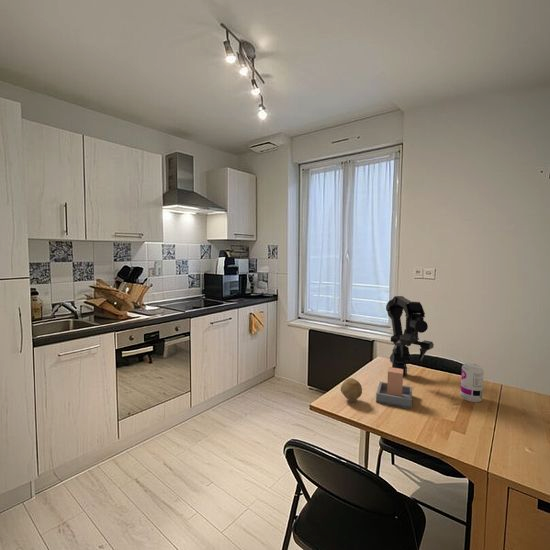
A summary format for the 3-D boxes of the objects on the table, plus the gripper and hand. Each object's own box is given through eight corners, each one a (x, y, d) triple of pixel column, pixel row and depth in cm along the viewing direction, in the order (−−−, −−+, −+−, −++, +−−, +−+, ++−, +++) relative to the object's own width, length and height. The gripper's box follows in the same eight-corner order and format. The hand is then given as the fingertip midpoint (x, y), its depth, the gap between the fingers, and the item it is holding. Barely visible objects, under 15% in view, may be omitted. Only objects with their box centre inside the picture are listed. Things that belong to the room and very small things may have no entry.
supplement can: (460, 400, 141) (462, 367, 140) (459, 393, 148) (461, 361, 147) (482, 404, 137) (484, 370, 136) (480, 397, 144) (482, 364, 143)
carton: (387, 392, 145) (388, 367, 144) (402, 395, 143) (403, 369, 142) (386, 398, 140) (387, 371, 139) (401, 401, 137) (402, 373, 136)
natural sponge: (336, 401, 138) (337, 378, 138) (346, 394, 145) (347, 373, 144) (355, 408, 132) (356, 384, 132) (365, 400, 139) (366, 378, 138)
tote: (376, 402, 138) (376, 393, 137) (379, 389, 150) (379, 381, 150) (411, 409, 132) (411, 399, 132) (411, 395, 145) (412, 387, 144)
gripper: (385, 326, 156) (384, 358, 157) (425, 334, 142) (423, 368, 143) (396, 323, 163) (395, 353, 164) (434, 330, 150) (433, 362, 151)
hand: (410, 359), depth 155 cm, fingers open, 9 cm apart
